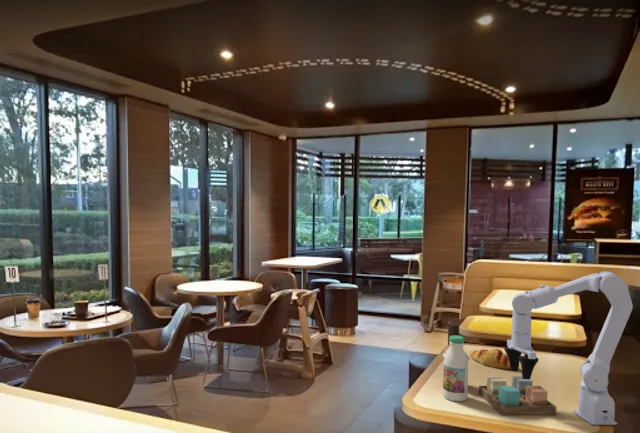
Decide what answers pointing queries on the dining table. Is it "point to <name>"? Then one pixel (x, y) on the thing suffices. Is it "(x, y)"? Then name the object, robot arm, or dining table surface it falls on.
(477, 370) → the dining table surface
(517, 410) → the puzzle board
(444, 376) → the milk bottle
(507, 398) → the teal block
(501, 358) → the croissant
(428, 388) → the dining table surface
